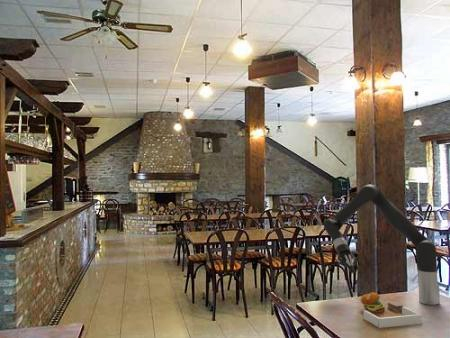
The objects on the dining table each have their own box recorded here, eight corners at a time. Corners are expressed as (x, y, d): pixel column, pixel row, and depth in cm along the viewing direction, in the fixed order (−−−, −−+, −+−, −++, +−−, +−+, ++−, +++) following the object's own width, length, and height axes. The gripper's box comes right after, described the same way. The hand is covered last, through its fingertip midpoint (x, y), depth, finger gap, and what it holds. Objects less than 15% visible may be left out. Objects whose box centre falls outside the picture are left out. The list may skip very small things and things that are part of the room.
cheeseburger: (389, 313, 193) (384, 293, 193) (368, 318, 193) (363, 299, 193) (381, 306, 203) (376, 288, 203) (361, 311, 203) (356, 293, 203)
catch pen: (404, 314, 190) (403, 306, 190) (422, 323, 178) (421, 314, 178) (363, 318, 186) (363, 310, 186) (379, 327, 173) (379, 318, 174)
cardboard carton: (394, 307, 202) (394, 301, 202) (403, 311, 195) (403, 305, 195) (387, 307, 201) (387, 302, 201) (396, 312, 194) (396, 306, 195)
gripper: (333, 243, 225) (344, 269, 213) (354, 242, 228) (366, 268, 215) (329, 251, 230) (340, 277, 217) (349, 250, 233) (361, 275, 220)
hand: (353, 272), depth 216 cm, fingers closed
